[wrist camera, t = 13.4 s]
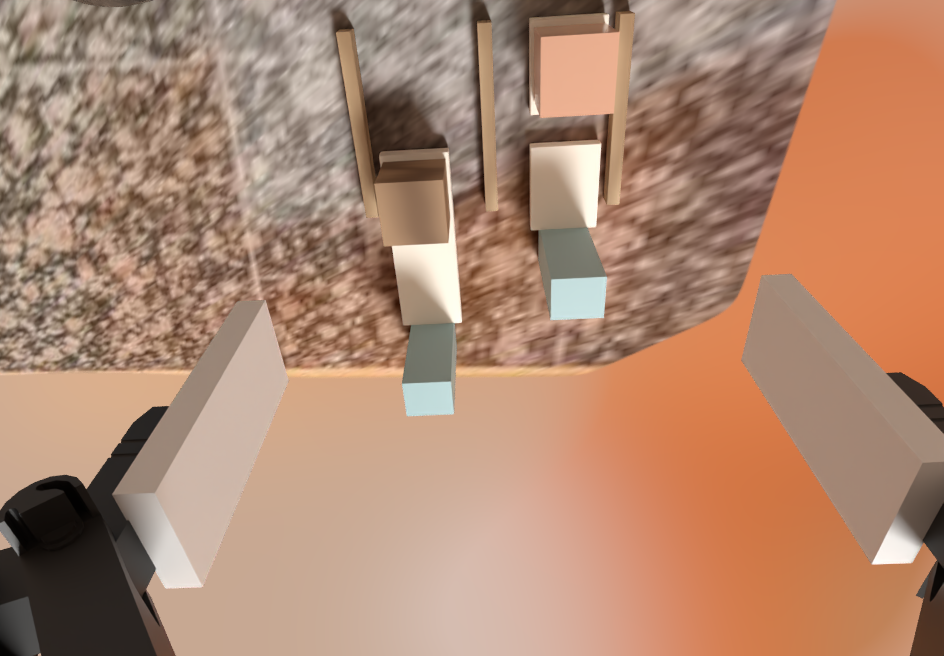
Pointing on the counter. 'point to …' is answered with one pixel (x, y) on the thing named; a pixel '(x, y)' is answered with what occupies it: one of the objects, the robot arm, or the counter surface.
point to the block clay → (575, 69)
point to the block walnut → (413, 202)
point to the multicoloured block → (429, 308)
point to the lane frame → (486, 113)
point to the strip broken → (566, 207)
